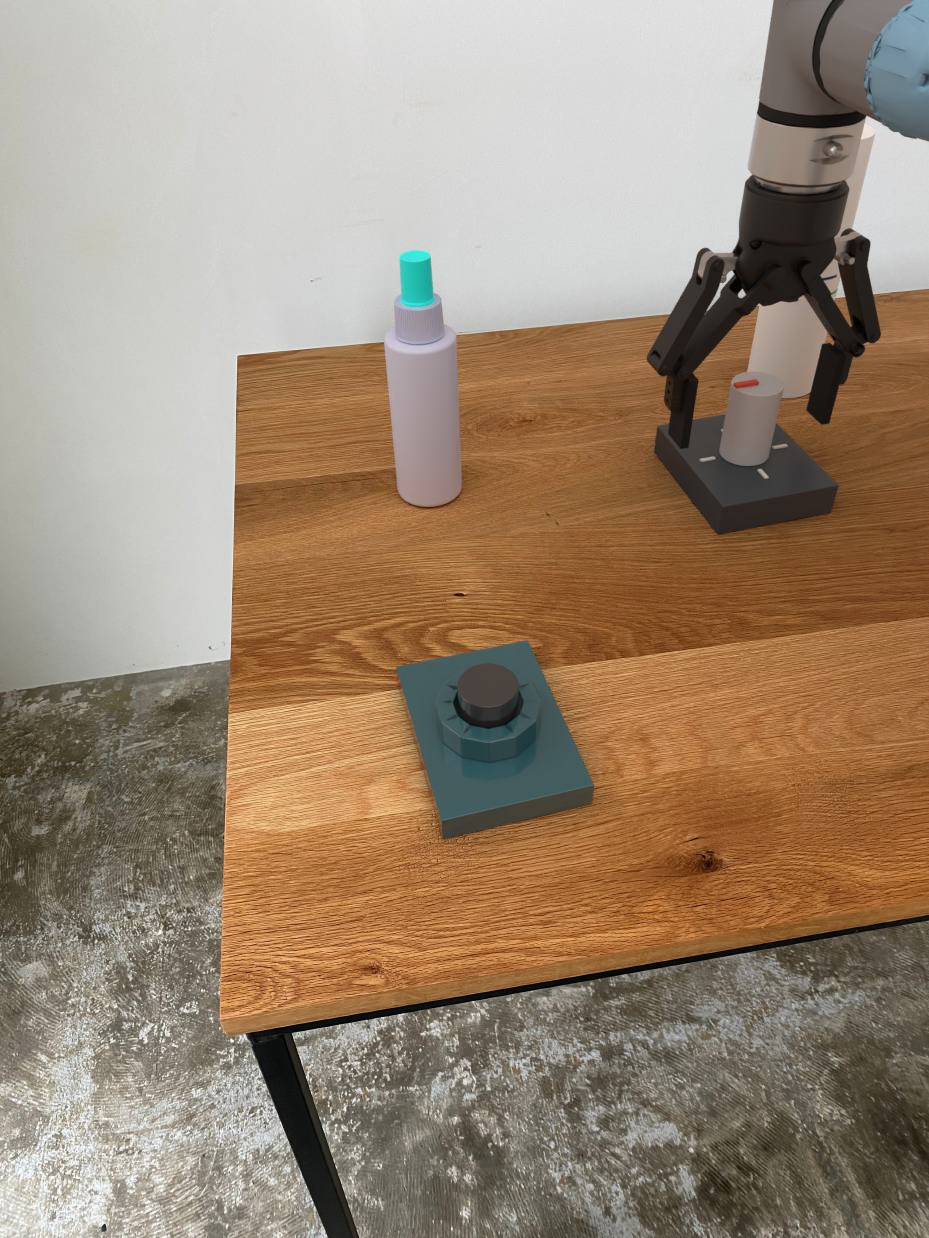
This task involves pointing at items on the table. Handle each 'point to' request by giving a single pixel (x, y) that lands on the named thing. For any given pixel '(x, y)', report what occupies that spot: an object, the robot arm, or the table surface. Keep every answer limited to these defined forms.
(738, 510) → the dial base
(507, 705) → the dark grey round knob
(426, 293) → the spray bottle
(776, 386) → the tap dial
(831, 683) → the table surface
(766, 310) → the cylindrical container
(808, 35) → the robot arm
